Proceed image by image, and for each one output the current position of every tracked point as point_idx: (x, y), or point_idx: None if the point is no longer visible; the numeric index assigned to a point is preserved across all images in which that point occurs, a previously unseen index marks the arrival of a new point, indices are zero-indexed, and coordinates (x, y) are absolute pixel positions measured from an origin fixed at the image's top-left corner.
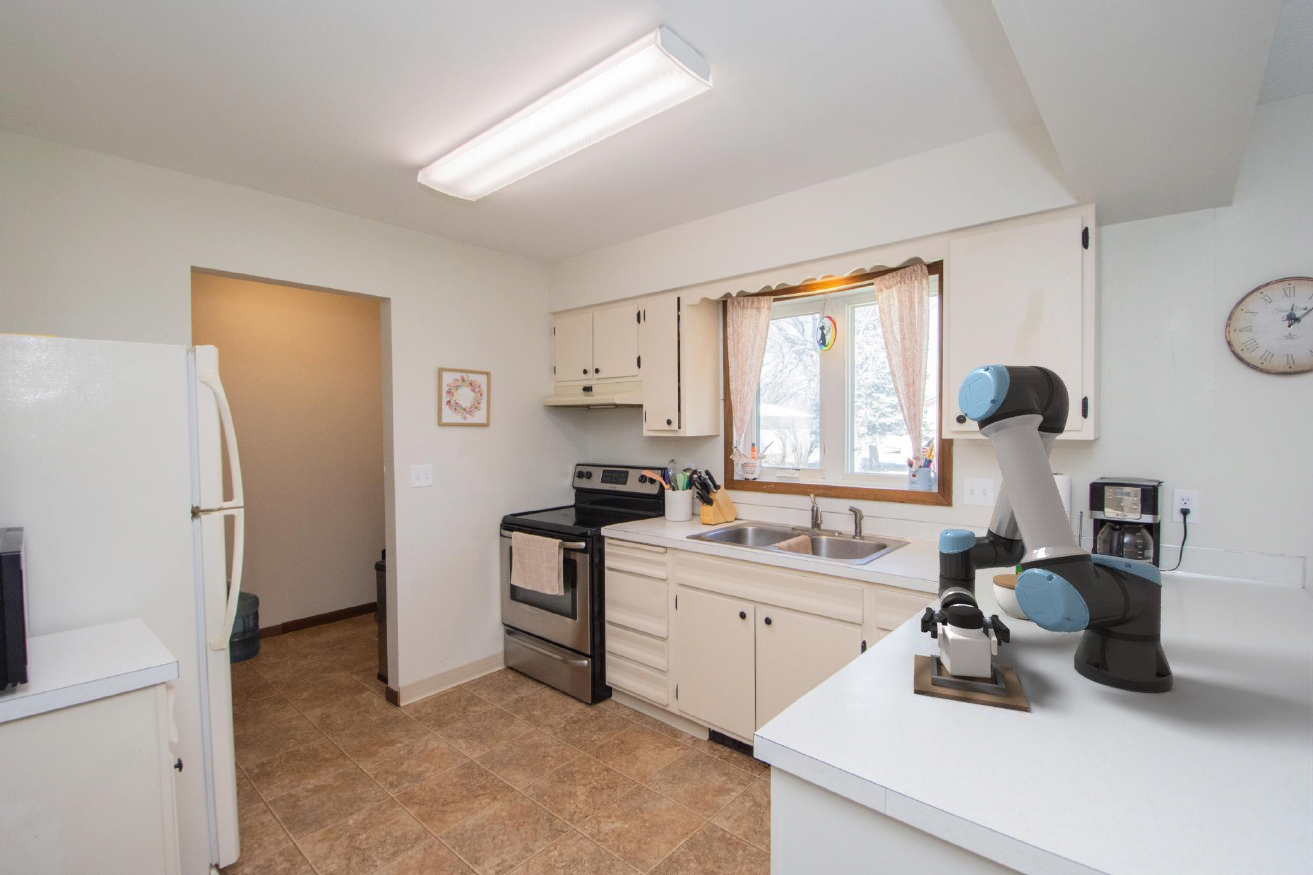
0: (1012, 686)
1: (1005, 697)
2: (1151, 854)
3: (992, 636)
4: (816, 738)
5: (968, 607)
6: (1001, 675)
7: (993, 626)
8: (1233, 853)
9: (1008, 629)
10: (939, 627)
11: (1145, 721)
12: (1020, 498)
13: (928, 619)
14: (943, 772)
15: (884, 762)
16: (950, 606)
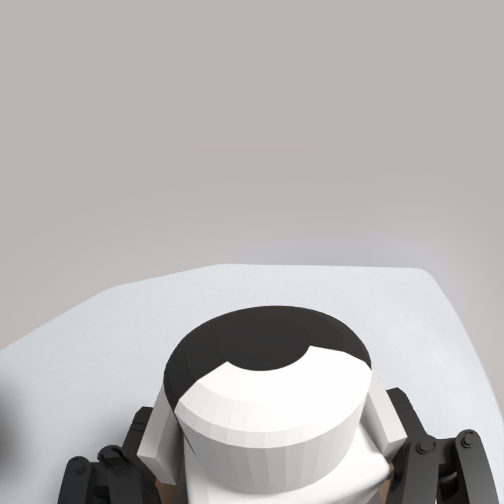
0: (162, 483)
1: None
2: (181, 274)
3: None
4: (398, 278)
5: (243, 340)
6: (177, 487)
7: (127, 455)
8: (136, 284)
9: (72, 460)
10: (376, 385)
11: (28, 405)
12: None
13: (460, 471)
14: (294, 284)
15: (339, 278)
16: (355, 348)
